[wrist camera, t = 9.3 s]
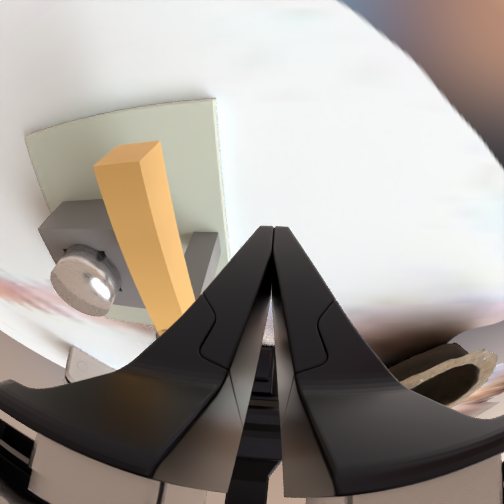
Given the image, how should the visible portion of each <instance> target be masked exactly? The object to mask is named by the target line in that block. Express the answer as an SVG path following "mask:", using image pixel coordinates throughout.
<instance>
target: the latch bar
mask: <svg viewBox="0 0 504 504" xmlns="http://www.w3.org/2000/svg"><path fill="white" fill-rule="evenodd" d="M93 168H94V172H95V175H96V179H97V182H98V185H99V188H100V192H101V195H102V198H103V201H104V204H105V207H106V210H107V213H108V216H109V219H110V221H111V224H112V227H113V230H114V232H115V235H116V238H117V241H118V243H119V246H120V248H121V251H122V253H123V256H124V259H125V261H126V263H127V266H128V268H129V271H130V273H131V276H132V278H133V280H134V283H135V285H136V287H137V289H138V292H139V294H140V296H141V298H142V301H143V303H144V305H145V307H146V309H147V311H148V313H149V316H150V318H151V320H152V322H153V324H154V326H155V328H156V330H157V333H156V338H159V337H160V336H161V335H162V334H163V333H164V332H165V331H166V330H167V329H168V328H169V327H170V326H172V325H173V324H174V323H175V322H176V321H177V320H178V319H179V318H180V317H181V316H182V315H183V314H184V313H185V312H186V310H187V309H188V308H189V307H190V306H191V305H192V304H193V303H194V302H195V297H194V293H193V289H192V286H191V282H190V278H189V274H188V270H187V266H186V262H185V258H184V254H183V249H182V245H181V241H180V237H179V232H178V228H177V223H176V219H175V214H174V210H173V205H172V200H171V195H170V190H169V185H168V180H167V175H166V169H165V164H164V159H163V153H162V147H161V141H151V142H142V143H133V144H125V145H118V146H116V147H115V148H114V149H113V150H112V151H110V152H109V153H108V154H107V155H106V156H104V157H103V158H102V159H101V160H100V161H99V162H97V163H96V164H95V165H94V166H93Z"/></svg>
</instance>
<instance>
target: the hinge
mask: <svg viewBox="0 0 504 504" xmlns="http://www.w3.org/2000/svg"><path fill="white" fill-rule="evenodd" d="M114 371H116V370H115V369H113V368H111V367H109V366H108V365H106V364H104V363H102V362H101V361H99V360H97V359H95V358H94V357H92V356H90V355H89V354H87V353H85V352H84V351H82V350H81V349H79V348H77V347H76V346H73V347H71V351H69V354H68V359H67V364H66V369H65V375H64V379H63V380H64V383H65V384H68V383H73V382H77V381H80V380H84V379H88V378H92V377H96V376H99V375H103V374H107V373H110V372H114Z"/></svg>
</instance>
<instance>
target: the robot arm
mask: <svg viewBox="0 0 504 504" xmlns="http://www.w3.org/2000/svg"><path fill="white" fill-rule="evenodd" d="M271 291H272V313H273V326H274V339H275V347H261V345H262V340H263V335H264V330H265V325H266V320H267V316H268V311H269V306H270V300H271ZM0 409H1V410H2V411H4V412H5V413H7V414H8V415H10V416H11V417H13V418H15V419H16V420H17V421H19V422H21V423H22V424H24V425H26V426H27V427H29V428H31V429H32V430H34V431H36V432H37V435H36V438H35V440H33V439H32V438H30V437H28V436H27V435H25V434H23V433H22V432H20V431H19V430H17V429H15V428H14V427H12V426H11V425H9V424H8V423H6V422H5V421H3V420H2V419H0V504H205V502H206V496H207V491H215V492H222V493H226V499H225V504H266V502H267V491H268V481H269V477H270V475H271V474H272V473H273V472H274V470H275V469H276V468H277V466H278V465H279V464H280V463H281V461H282V463H283V464H282V465H283V483H284V497H291V498H306V504H504V461H503V462H502V460H501V453H503V452H504V415H502V416H499V417H496V418H493V419H479V418H474V417H471V416H468V415H465V414H463V413H460V412H458V411H456V410H453V409H451V408H449V407H447V406H444V405H442V404H440V403H438V402H435V401H433V400H431V399H429V398H427V397H425V396H422V395H420V394H418V393H416V392H414V391H412V390H410V389H408V388H407V387H405V386H404V385H403V384H401V383H400V382H399V381H398V380H397V379H396V378H395V377H394V376H393V375H392V374H391V372H390V371H389V370H388V369H387V367H386V366H385V365H384V364H383V362H382V361H381V360H380V359H379V357H378V356H377V355H376V354H375V352H374V351H373V350H372V349H371V347H370V346H369V345H368V344H367V342H366V341H365V340H364V339H363V337H362V336H361V335H360V334H359V332H358V331H357V330H356V328H355V327H354V326H353V324H352V323H351V321H350V320H349V319H348V317H347V316H346V314H345V313H344V311H343V310H342V308H341V306H340V305H339V303H338V302H337V301H336V299H335V297H334V295H333V294H332V292H331V291H330V289H329V288H328V286H327V285H326V283H325V281H324V280H323V278H322V277H321V275H320V274H319V272H318V271H317V269H316V268H315V266H314V265H313V263H312V262H311V260H310V259H309V257H308V256H307V254H306V253H305V251H304V250H303V248H302V247H301V245H300V244H299V242H298V241H297V239H296V238H295V236H294V235H293V233H292V232H291V230H290V229H289V228H288V227H282V226H276V227H275V228H274V227H273V226H260V227H259V228H258V229H257V230H256V231H255V232H254V233H253V235H252V236H251V237H250V238H249V239H248V240H247V242H246V243H245V244H244V245H243V246H242V247H241V248H240V250H239V251H238V252H237V253H236V254H235V255H234V257H233V258H232V259H231V260H230V261H229V262H228V263H227V265H226V266H225V267H224V268H223V269H222V270H221V272H220V273H219V274H218V275H217V276H216V277H215V279H214V280H213V281H212V282H211V283H210V284H209V285H208V287H207V288H206V289H205V290H204V291H203V293H202V294H201V295H200V296H199V297H198V298H197V299H196V300H195V302H194V303H193V304H192V305H191V306H190V307H189V308H188V309H187V310H186V312H185V313H184V314H183V315H182V316H181V317H180V318H179V319H178V320H177V321H176V322H175V323H174V324H173V325H172V326H170V327H169V328H168V329H167V330H166V331H165V332H164V333H163V334H162V335H161V336H160V337H159V338H157V339H156V340H155V341H154V342H153V343H152V344H151V345H150V346H149V347H148V348H147V349H145V350H144V351H143V352H142V353H141V354H140V355H139V356H138V357H137V358H135V359H134V360H133V361H132V362H130V363H129V364H128V365H126V366H124V367H123V368H121V369H119V370H116V371H114V372H110V373H107V374H103V375H99V376H96V377H92V378H88V379H84V380H80V381H77V382H73V383H68V384H64V385H60V386H56V387H51V388H45V389H35V388H28V387H26V386H23V385H21V384H20V383H18V382H16V381H14V380H11V379H8V380H5V381H3V382H0Z"/></svg>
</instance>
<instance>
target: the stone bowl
mask: <svg viewBox="0 0 504 504" xmlns="http://www.w3.org/2000/svg"><path fill="white" fill-rule="evenodd" d="M496 362H497V354H495V353H492V352H490V351H485V350H478V351H476V352H472V353H470V354H469V353H468V352H467V351H465V350H464V349H463V348H462V347H461V346H460V345H458V344H457V343H453V344H443V345H440V346H437V347H435V348H433V349H431V350H428V351H426V352H423V353H422V354H419V355H415V356H413V357H411V358H410V359H407V360H403V361H402V362H401V363H399V364H397V365H395V366H393V367H390V368H389V369H388V370H389V371H390V372H391V374H392V375H393V376H394V377H395V378H396V379H397V380H398V381H399V382H400V383H401V384H403V385H404V386H405V387H407V388H408V389H410V390H412V391H414V392H416V393H418V394H420V395H422V396H425V397H427V398H429V399H431V400H433V401H435V402H438V403H440V404H442V405H444V406H447V407H449V408H452V407H453V406H455V405H457V404H459V403H460V402H462V401H463V400H465V399H466V398H468V397H469V396H470V395H471V394H473V393H474V392H475V391H476V390H478V389H479V388H480V387H481V386H482V385H483V384H485V383H486V382H487V380H488V378H489V377H490V376H491V374H492V373H493V370H494V368H495V367H496Z"/></svg>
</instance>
